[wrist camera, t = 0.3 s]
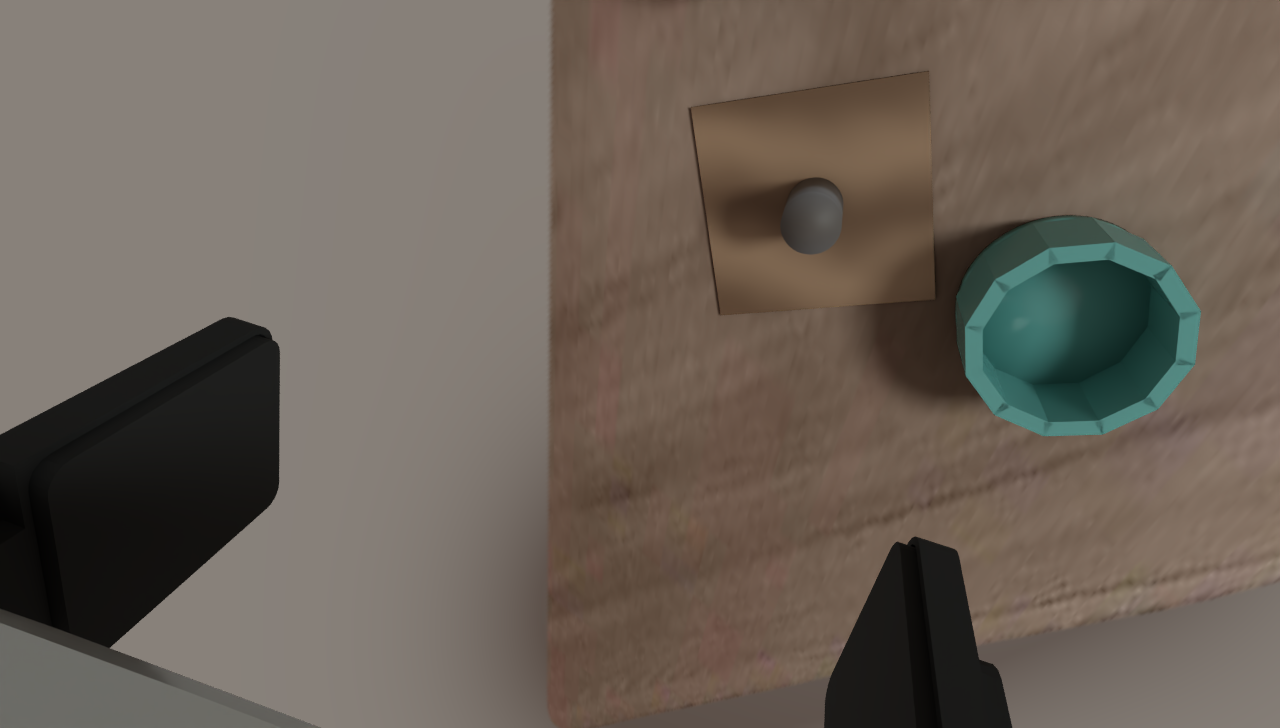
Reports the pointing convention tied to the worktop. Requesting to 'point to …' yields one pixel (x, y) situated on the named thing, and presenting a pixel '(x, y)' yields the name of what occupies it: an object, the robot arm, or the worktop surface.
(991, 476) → the worktop surface
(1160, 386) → the bowl
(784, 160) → the lid
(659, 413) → the worktop surface
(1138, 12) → the worktop surface
